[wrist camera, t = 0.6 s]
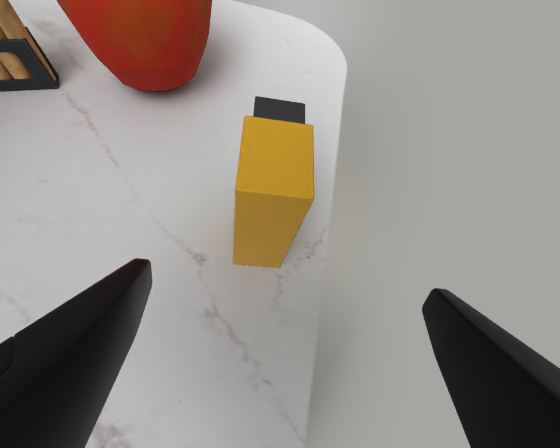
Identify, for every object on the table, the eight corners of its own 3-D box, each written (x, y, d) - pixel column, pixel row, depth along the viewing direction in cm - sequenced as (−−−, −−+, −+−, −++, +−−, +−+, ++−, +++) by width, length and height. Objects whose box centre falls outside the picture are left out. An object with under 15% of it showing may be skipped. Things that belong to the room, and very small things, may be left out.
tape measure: (279, 268, 26) (314, 199, 15) (233, 264, 25) (235, 189, 15) (282, 202, 29) (313, 104, 18) (240, 197, 28) (246, 94, 17)
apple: (139, 139, 29) (69, -31, 17) (77, 67, 32) (-24, -127, 19) (238, 91, 34) (242, -71, 21) (176, 31, 37) (148, -143, 24)
